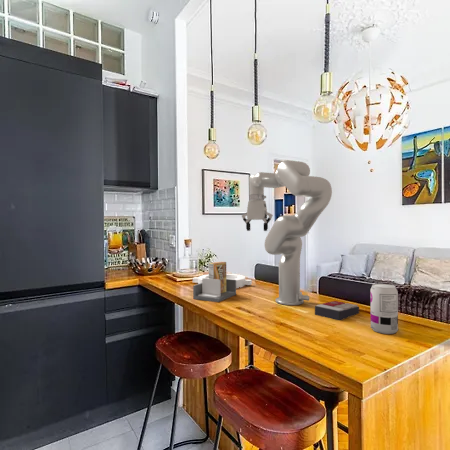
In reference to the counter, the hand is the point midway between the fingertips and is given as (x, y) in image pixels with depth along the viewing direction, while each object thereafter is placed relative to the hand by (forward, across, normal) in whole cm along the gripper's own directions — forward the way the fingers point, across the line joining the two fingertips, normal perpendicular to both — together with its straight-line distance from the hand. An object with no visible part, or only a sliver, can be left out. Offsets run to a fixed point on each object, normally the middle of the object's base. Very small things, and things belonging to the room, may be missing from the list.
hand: (256, 230), depth 170 cm
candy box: (+31, +14, +18) cm, 38 cm away
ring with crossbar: (+33, +27, -9) cm, 44 cm away
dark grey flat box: (+33, -45, +23) cm, 60 cm away
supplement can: (+32, -62, +37) cm, 79 cm away
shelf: (+32, +14, +20) cm, 40 cm away
